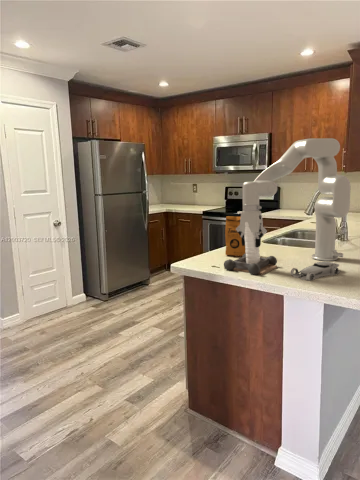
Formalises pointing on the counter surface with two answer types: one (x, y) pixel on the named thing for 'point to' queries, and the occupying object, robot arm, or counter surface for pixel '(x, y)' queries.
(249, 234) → the water bottle
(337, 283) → the counter surface
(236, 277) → the counter surface
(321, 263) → the car model
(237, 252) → the coffee package
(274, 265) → the chassis
